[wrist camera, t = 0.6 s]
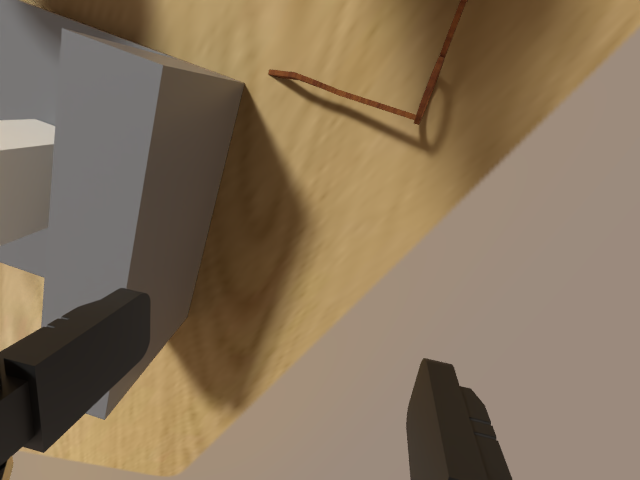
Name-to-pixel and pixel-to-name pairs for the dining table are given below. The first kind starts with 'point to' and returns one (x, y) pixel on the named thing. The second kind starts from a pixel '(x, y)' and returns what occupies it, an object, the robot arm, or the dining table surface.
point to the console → (116, 167)
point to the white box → (25, 177)
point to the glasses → (378, 105)
